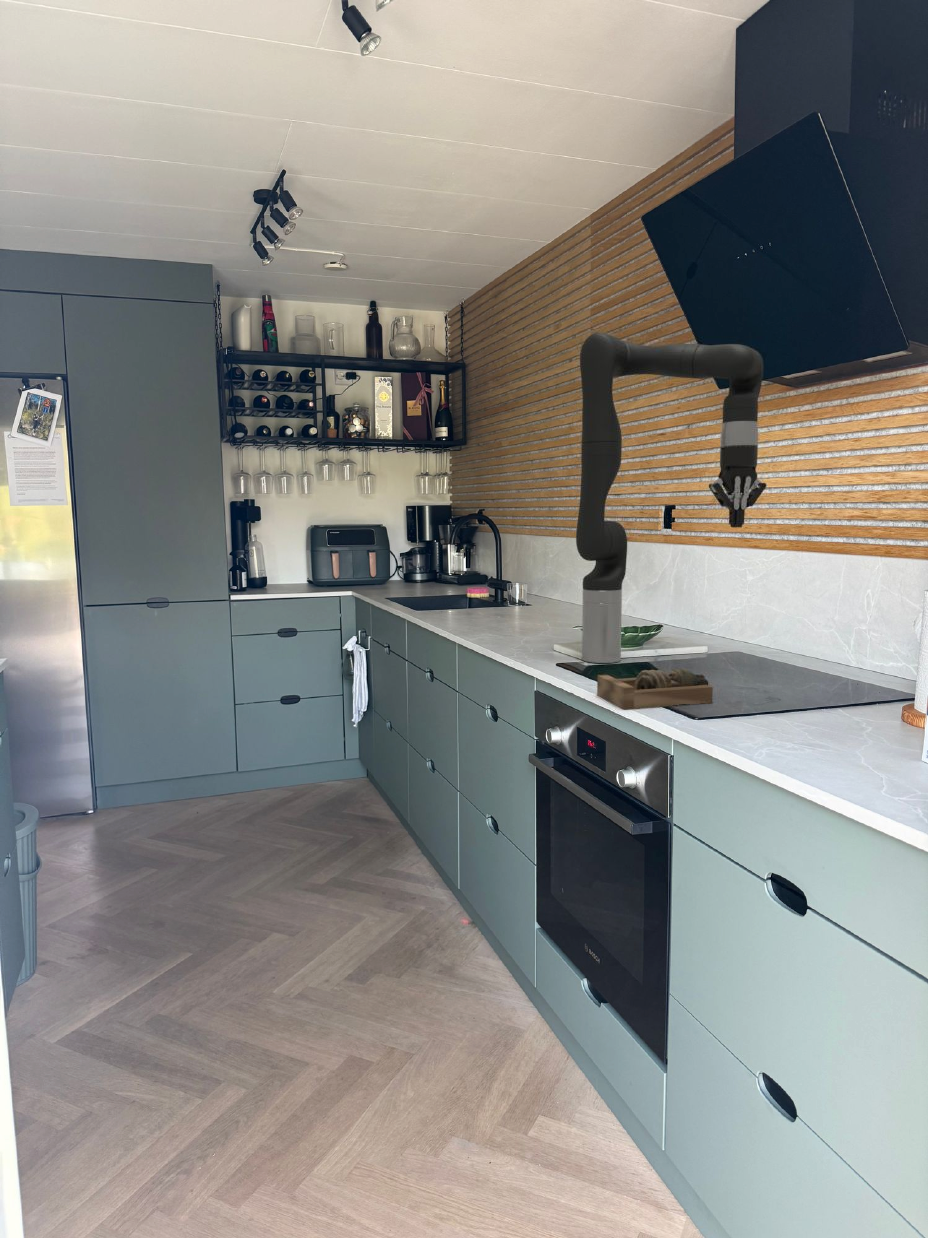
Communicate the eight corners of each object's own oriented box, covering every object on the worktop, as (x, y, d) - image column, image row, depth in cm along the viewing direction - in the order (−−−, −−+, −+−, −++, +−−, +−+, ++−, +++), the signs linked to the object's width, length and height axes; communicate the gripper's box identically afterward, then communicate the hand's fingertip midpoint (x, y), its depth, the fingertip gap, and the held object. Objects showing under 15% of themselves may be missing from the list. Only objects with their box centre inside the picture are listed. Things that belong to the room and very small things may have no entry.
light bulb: (697, 690, 162) (629, 695, 158) (699, 663, 161) (630, 667, 157) (714, 698, 157) (643, 703, 153) (715, 670, 156) (644, 674, 152)
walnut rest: (597, 695, 161) (597, 675, 160) (679, 689, 165) (680, 669, 165) (624, 709, 149) (624, 688, 149) (712, 702, 154) (712, 681, 153)
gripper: (756, 446, 178) (753, 526, 180) (701, 445, 175) (699, 527, 177) (777, 443, 171) (774, 527, 173) (720, 442, 168) (718, 528, 170)
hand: (736, 527), depth 175 cm, fingers closed
